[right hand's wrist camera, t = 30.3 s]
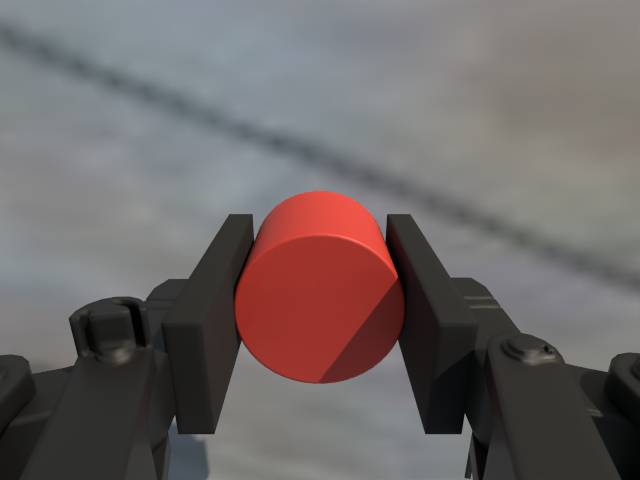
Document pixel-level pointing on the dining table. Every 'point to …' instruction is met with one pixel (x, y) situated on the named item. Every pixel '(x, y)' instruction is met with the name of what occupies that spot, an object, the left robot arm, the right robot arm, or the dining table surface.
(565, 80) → the dining table surface
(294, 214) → the canister
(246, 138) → the dining table surface
